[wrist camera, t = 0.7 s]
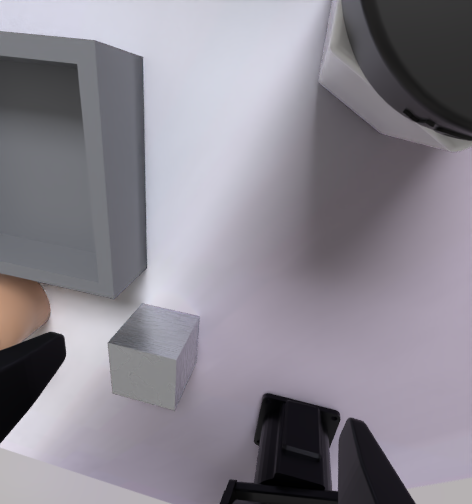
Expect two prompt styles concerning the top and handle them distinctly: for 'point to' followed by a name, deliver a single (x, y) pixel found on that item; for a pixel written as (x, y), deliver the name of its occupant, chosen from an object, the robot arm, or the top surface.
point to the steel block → (154, 355)
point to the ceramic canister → (20, 309)
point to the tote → (71, 163)
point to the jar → (404, 67)
